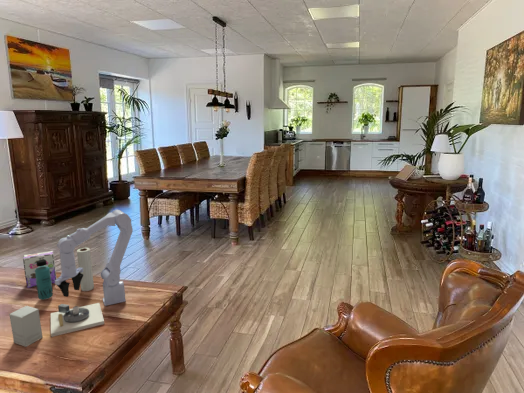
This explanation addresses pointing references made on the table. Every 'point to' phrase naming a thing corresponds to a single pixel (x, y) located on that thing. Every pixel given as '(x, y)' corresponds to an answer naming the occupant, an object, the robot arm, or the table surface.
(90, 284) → the paper towel roll
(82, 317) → the flange
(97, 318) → the base plate
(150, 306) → the table surface
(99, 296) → the table surface
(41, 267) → the beverage bottle
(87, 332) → the table surface
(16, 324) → the supplement box
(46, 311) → the table surface
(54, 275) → the candy box
